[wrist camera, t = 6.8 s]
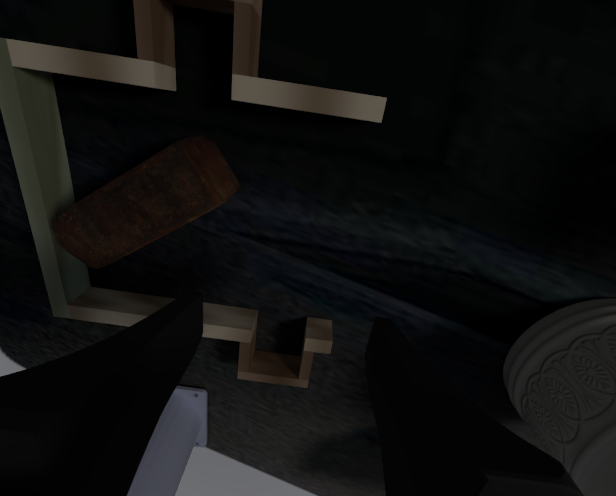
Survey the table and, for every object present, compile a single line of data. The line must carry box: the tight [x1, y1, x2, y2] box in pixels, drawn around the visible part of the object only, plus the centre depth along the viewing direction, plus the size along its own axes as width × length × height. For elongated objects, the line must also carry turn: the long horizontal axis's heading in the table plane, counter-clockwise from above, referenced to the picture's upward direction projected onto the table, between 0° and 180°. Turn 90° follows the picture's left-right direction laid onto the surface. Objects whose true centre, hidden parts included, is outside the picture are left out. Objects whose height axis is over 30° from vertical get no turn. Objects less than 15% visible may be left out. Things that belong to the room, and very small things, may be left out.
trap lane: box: [0, 0, 387, 388], centre depth 20 cm, size 21×25×2 cm
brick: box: [52, 135, 241, 269], centre depth 19 cm, size 11×4×5 cm, turn 117°
